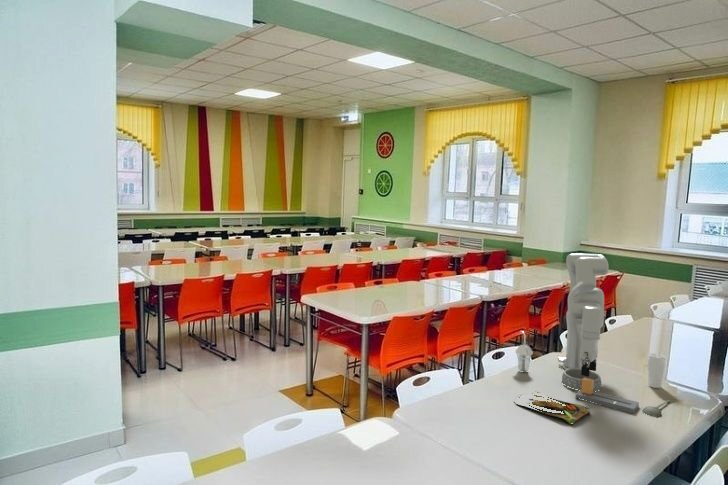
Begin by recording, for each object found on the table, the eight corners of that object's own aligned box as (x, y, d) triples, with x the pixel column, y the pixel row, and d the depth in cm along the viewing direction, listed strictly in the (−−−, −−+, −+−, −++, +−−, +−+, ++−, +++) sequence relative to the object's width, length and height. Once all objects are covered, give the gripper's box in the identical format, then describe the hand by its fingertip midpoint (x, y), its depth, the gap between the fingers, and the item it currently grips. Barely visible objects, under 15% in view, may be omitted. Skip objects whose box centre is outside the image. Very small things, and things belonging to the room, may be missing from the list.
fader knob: (581, 392, 220) (582, 379, 220) (583, 390, 223) (584, 377, 222) (591, 394, 218) (591, 381, 217) (593, 392, 220) (593, 379, 219)
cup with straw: (513, 373, 250) (515, 334, 248) (515, 367, 258) (517, 329, 256) (531, 375, 247) (533, 336, 245) (532, 369, 255) (534, 331, 253)
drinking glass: (665, 389, 230) (667, 358, 229) (649, 388, 231) (651, 357, 230) (659, 384, 237) (662, 353, 235) (644, 383, 238) (646, 352, 237)
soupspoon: (639, 415, 206) (656, 421, 201) (640, 407, 205) (657, 414, 200) (661, 400, 219) (678, 406, 214) (662, 393, 218) (679, 398, 213)
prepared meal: (510, 395, 213) (534, 385, 225) (509, 403, 214) (533, 392, 225) (572, 421, 192) (595, 408, 203) (571, 430, 192) (594, 416, 203)
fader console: (575, 398, 219) (575, 393, 219) (582, 392, 226) (582, 387, 226) (633, 413, 204) (633, 408, 204) (638, 406, 211) (638, 401, 211)
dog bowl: (601, 381, 241) (601, 370, 240) (601, 395, 224) (601, 383, 223) (563, 375, 248) (563, 365, 247) (560, 388, 231) (561, 377, 231)
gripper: (587, 329, 226) (585, 366, 228) (575, 336, 213) (573, 375, 215) (605, 332, 222) (603, 370, 223) (593, 340, 208) (591, 380, 210)
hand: (588, 372), depth 219 cm, fingers open, 9 cm apart
